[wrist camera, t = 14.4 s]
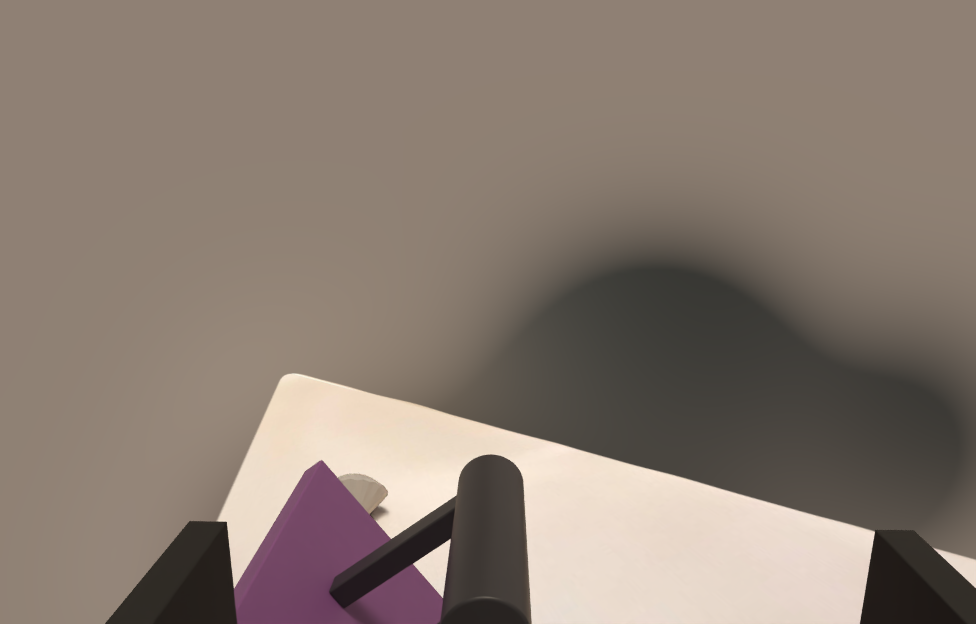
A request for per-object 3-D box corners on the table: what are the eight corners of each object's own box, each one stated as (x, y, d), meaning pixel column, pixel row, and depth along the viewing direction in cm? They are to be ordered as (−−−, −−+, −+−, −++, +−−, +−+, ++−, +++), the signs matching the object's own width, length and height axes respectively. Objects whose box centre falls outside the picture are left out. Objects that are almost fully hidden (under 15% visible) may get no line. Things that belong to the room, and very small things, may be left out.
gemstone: (315, 519, 56) (322, 464, 59) (314, 543, 61) (321, 490, 64) (388, 523, 57) (392, 468, 60) (381, 545, 62) (385, 494, 65)
